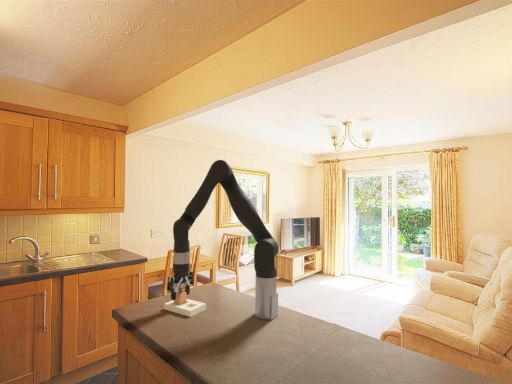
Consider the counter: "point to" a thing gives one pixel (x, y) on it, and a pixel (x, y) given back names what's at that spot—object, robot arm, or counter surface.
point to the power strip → (186, 307)
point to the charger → (181, 297)
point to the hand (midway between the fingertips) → (180, 297)
